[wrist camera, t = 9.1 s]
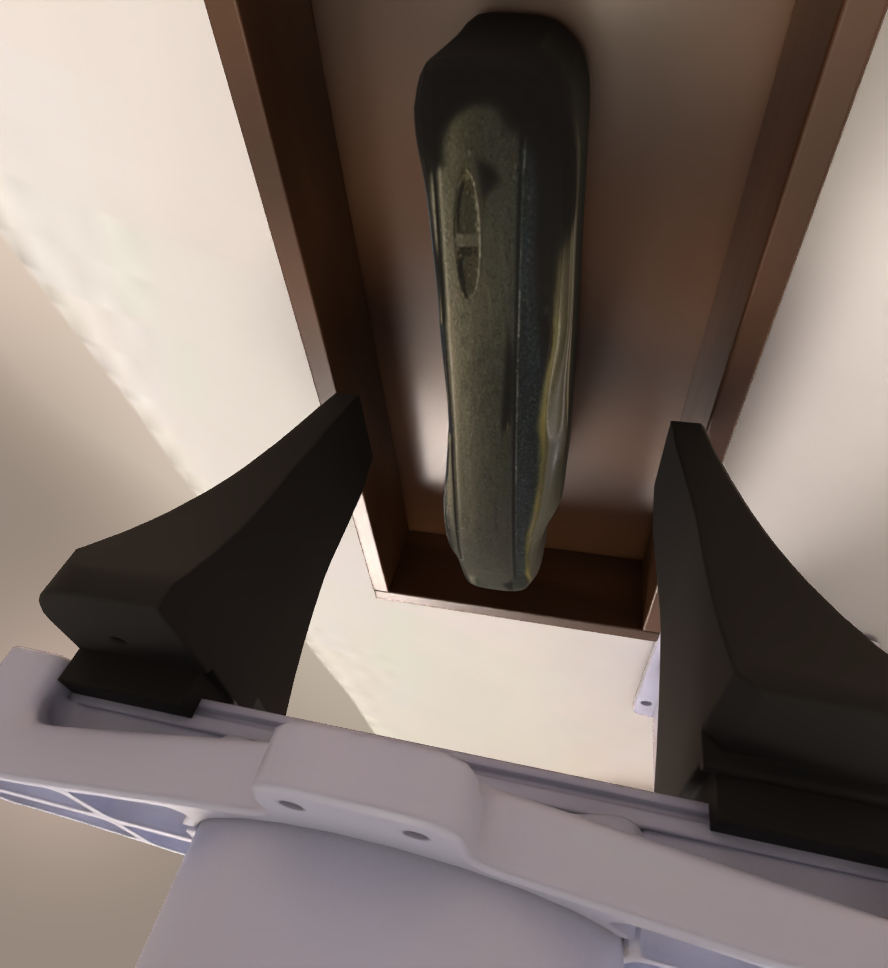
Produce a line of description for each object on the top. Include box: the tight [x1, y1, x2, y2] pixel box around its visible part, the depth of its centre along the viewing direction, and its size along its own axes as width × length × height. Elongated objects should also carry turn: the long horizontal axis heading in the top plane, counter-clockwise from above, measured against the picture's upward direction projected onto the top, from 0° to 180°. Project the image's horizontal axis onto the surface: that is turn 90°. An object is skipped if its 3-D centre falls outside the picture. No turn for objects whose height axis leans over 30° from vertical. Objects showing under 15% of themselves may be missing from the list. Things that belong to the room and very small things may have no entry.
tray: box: [204, 0, 888, 641], centre depth 16 cm, size 19×10×4 cm, turn 4°
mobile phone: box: [414, 12, 590, 591], centre depth 15 cm, size 5×3×15 cm
